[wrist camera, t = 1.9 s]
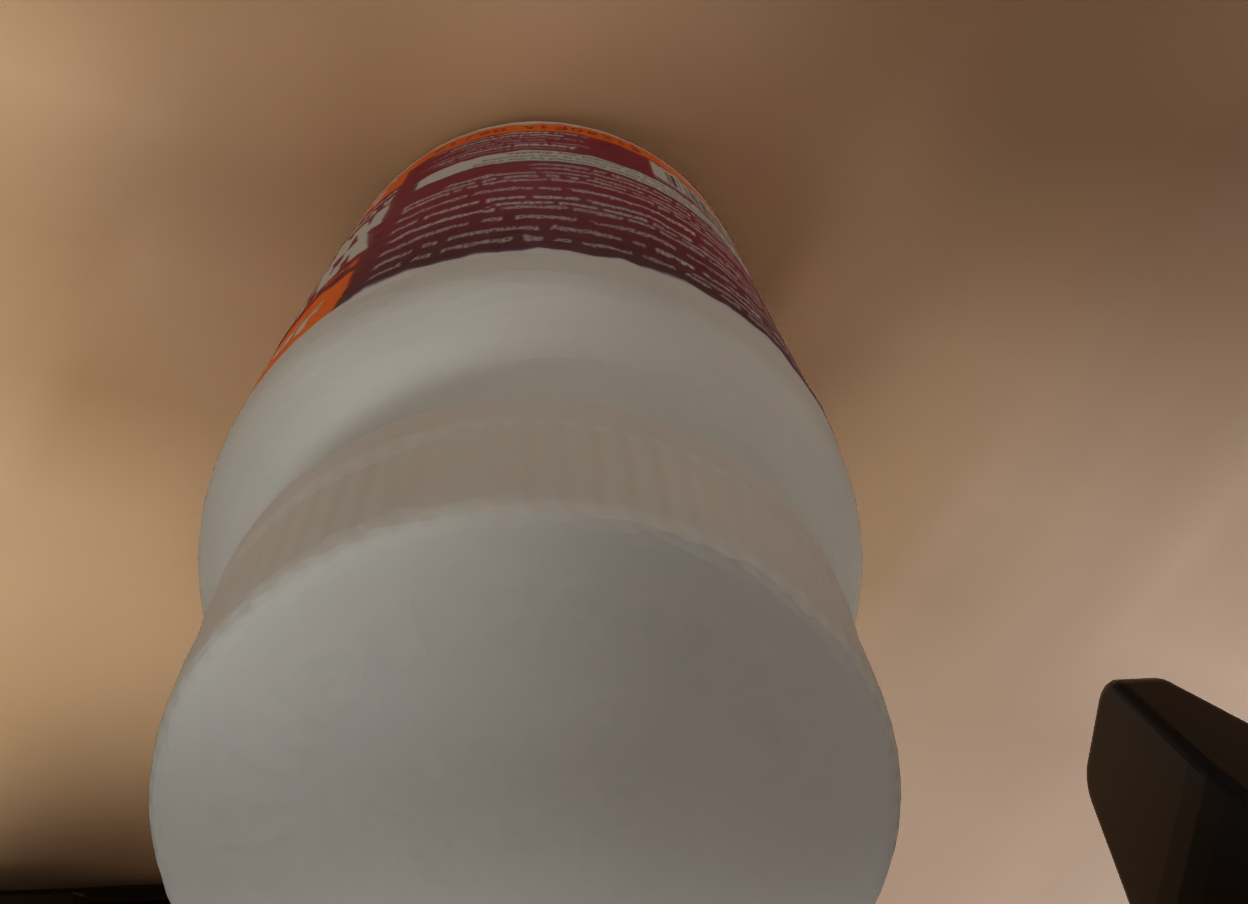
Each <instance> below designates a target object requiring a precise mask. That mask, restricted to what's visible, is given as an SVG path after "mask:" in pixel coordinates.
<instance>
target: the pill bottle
mask: <svg viewBox="0 0 1248 904" xmlns="http://www.w3.org/2000/svg"><path fill="white" fill-rule="evenodd" d="M198 562H199V584H200V596H201V602H202V607H203V613H204V619H203V622H202V625H201V629H200V631H199V633H198V636H197V638H196V640H195V642H194V644H193V646H192V648H191V650H190V652H189V654H188V656H187V658H186V660H185V662H184V664H183V667H182V669H181V671H180V674H179V676H178V679H177V681H176V683H175V686H174V688H173V690H172V693H171V695H170V698H169V701H168V704H167V707H166V710H165V712H164V715H163V718H162V721H161V724H160V727H159V730H158V735H157V739H156V744H155V748H154V754H153V761H152V768H151V776H150V783H149V817H150V827H151V835H152V841H153V846H154V851H155V856H156V861H157V865H158V867H159V870H160V873H161V877H162V881H163V884H164V888H165V891H166V894H167V897H168V899H169V901H170V903H171V904H875V902H876V900H877V898H878V896H879V894H880V892H881V889H882V886H883V884H884V881H885V879H886V876H887V872H888V869H889V866H890V863H891V859H892V856H893V853H894V849H895V845H896V840H897V835H898V829H899V817H900V800H901V781H900V769H899V759H898V750H897V745H896V741H895V737H894V732H893V728H892V724H891V720H890V717H889V714H888V711H887V708H886V705H885V702H884V698H883V695H882V692H881V689H880V687H879V685H878V682H877V680H876V678H875V675H874V673H873V670H872V668H871V666H870V663H869V661H868V659H867V656H866V654H865V652H864V649H863V647H862V645H861V642H860V640H859V638H858V635H857V631H856V628H855V620H856V615H857V611H858V604H859V597H860V590H861V577H862V545H861V532H860V523H859V517H858V511H857V506H856V500H855V496H854V492H853V488H852V485H851V481H850V478H849V474H848V471H847V468H846V466H845V463H844V461H843V458H842V456H841V453H840V451H839V448H838V445H837V442H836V439H835V436H834V433H833V431H832V429H831V427H830V425H829V423H828V420H827V418H826V416H825V413H824V411H823V408H822V406H821V405H820V403H819V402H818V400H817V398H816V397H815V395H814V394H813V392H812V391H811V389H810V388H809V387H808V385H807V383H806V381H805V379H804V378H803V376H802V374H801V372H800V370H799V368H798V366H797V364H796V363H795V361H794V359H793V357H792V355H791V354H790V352H789V350H788V348H787V346H786V345H785V343H784V341H783V339H782V337H781V335H780V333H779V331H778V330H777V328H776V326H775V324H774V322H773V320H772V318H771V316H770V314H769V312H768V311H767V309H766V307H765V305H764V303H763V301H762V299H761V298H760V296H759V294H758V292H757V291H756V289H755V287H754V285H753V282H752V280H751V278H750V275H749V273H748V271H747V269H746V268H745V266H744V264H743V262H742V261H741V259H740V257H739V255H738V253H737V251H736V249H735V246H734V244H733V242H732V241H731V239H730V237H729V236H728V234H727V232H726V230H725V229H724V227H723V226H722V224H721V223H720V221H719V220H718V218H717V217H716V215H715V214H714V212H713V211H712V209H711V208H710V206H709V205H708V204H707V203H706V201H705V200H704V199H703V198H702V197H701V195H700V194H699V193H698V192H697V191H696V190H695V189H694V188H693V187H692V186H691V185H690V184H689V183H688V181H687V180H686V179H685V178H683V177H682V176H681V175H680V174H679V173H678V172H676V171H675V170H674V169H673V168H672V167H670V166H669V165H668V164H666V163H665V162H663V161H662V160H660V159H659V158H657V157H656V156H655V155H653V154H652V153H650V152H648V151H646V150H644V149H643V148H641V147H639V146H637V145H635V144H633V143H631V142H628V141H626V140H624V139H621V138H619V137H617V136H615V135H612V134H610V133H607V132H604V131H601V130H597V129H593V128H588V127H584V126H580V125H574V124H569V123H564V122H546V121H526V122H512V123H507V124H501V125H496V126H491V127H486V128H482V129H479V130H476V131H473V132H470V133H467V134H465V135H462V136H459V137H456V138H454V139H452V140H450V141H448V142H446V143H444V144H442V145H440V146H438V147H436V148H435V149H433V150H431V151H430V152H428V153H427V154H425V155H423V156H422V157H421V158H419V159H418V160H416V161H415V162H413V163H412V164H411V165H409V166H408V167H407V168H406V169H405V170H404V171H403V172H401V173H400V174H399V175H398V176H397V177H396V178H395V179H394V180H393V181H392V182H391V183H390V184H389V185H388V186H387V187H386V188H385V189H384V190H383V191H382V192H381V194H380V195H379V196H378V197H377V198H376V200H375V201H374V202H373V203H372V205H371V206H370V207H369V209H368V210H367V211H366V213H365V214H364V216H363V217H362V218H361V220H360V221H359V223H358V224H357V225H356V227H355V228H354V230H353V232H352V233H351V234H350V236H349V237H348V239H347V240H346V241H345V242H344V244H343V245H342V247H341V249H340V250H339V252H338V254H337V255H336V256H335V258H334V259H333V261H332V262H331V264H330V266H329V268H328V269H327V271H326V272H325V274H324V275H323V277H322V279H321V281H320V282H319V284H318V285H317V287H316V288H315V290H314V291H313V293H312V294H311V296H310V297H309V299H308V300H307V302H306V304H305V305H304V307H303V308H302V310H301V311H300V313H299V315H298V317H297V318H296V320H295V322H294V324H293V325H292V326H291V328H290V329H289V331H288V332H287V334H286V335H285V337H284V338H283V340H282V341H281V343H280V344H279V346H278V348H277V350H276V352H275V354H274V356H273V357H272V359H271V361H270V362H269V364H268V365H267V367H266V369H265V370H264V372H263V373H262V375H261V377H260V378H259V380H258V382H257V383H256V385H255V386H254V388H253V390H252V392H251V394H250V396H249V398H248V400H247V401H246V403H245V405H244V407H243V408H242V410H241V412H240V414H239V415H238V417H237V419H236V421H235V422H234V424H233V426H232V428H231V430H230V431H229V433H228V436H227V438H226V440H225V442H224V444H223V447H222V449H221V451H220V453H219V456H218V459H217V461H216V464H215V467H214V469H213V473H212V476H211V480H210V483H209V487H208V490H207V494H206V497H205V502H204V508H203V514H202V520H201V527H200V537H199V548H198Z"/></svg>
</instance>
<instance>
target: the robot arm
mask: <svg viewBox="0 0 1248 904" xmlns="http://www.w3.org/2000/svg"><path fill="white" fill-rule="evenodd" d="M1087 783H1088V790H1089V794H1090V798H1091V801H1092V804H1093V806H1094V809H1095V812H1096V815H1097V817H1098V820H1099V823H1100V825H1101V828H1102V831H1103V833H1104V836H1105V839H1106V842H1107V844H1108V847H1109V850H1110V852H1111V855H1112V858H1113V860H1114V863H1115V866H1116V869H1117V871H1118V874H1119V877H1120V879H1121V882H1122V885H1123V888H1124V890H1125V893H1126V896H1127V898H1128V901H1129V904H1248V723H1246V722H1245V721H1243V720H1241V719H1239V718H1237V717H1235V716H1233V715H1231V714H1229V713H1227V712H1226V711H1224V710H1222V709H1220V708H1218V707H1216V706H1214V705H1212V704H1210V703H1208V702H1207V701H1205V700H1203V699H1201V698H1199V697H1197V696H1195V695H1193V694H1191V693H1189V692H1188V691H1186V690H1184V689H1182V688H1180V687H1178V686H1176V685H1174V684H1172V683H1170V682H1169V681H1166V680H1164V679H1159V678H1142V679H1118V680H1113V681H1111V682H1110V683H1108V684H1107V685H1106V686H1105V687H1104V689H1103V691H1102V693H1101V696H1100V699H1099V704H1098V710H1097V715H1096V720H1095V726H1094V731H1093V736H1092V742H1091V747H1090V753H1089V758H1088V764H1087ZM0 904H171V903H170V901H169V899H168V897H167V894H166V891H165V888H164V884H157V885H134V886H111V887H88V888H64V889H41V890H18V891H0Z"/></svg>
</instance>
